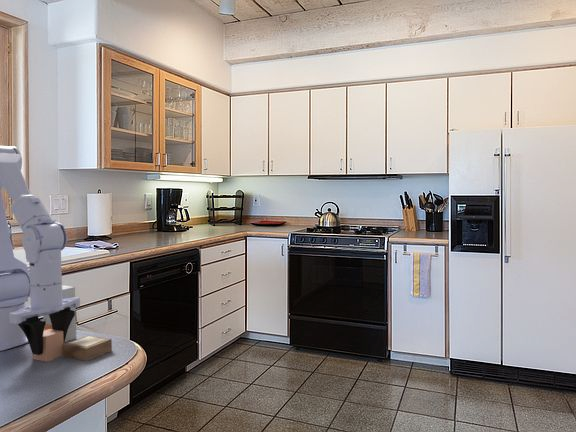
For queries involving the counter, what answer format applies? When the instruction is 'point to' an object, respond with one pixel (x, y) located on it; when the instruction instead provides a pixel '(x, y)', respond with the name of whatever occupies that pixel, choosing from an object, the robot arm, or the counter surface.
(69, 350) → the walnut foundation
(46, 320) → the skincare box
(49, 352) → the terracotta block
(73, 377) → the counter surface
